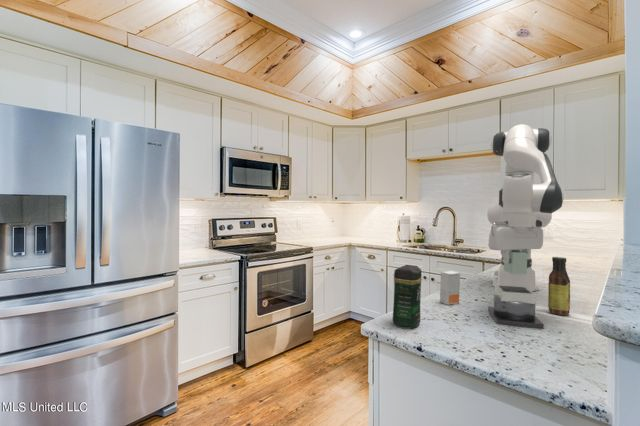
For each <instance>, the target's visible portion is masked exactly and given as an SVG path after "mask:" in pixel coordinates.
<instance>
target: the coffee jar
mask: <svg viewBox="0 0 640 426" xmlns="http://www.w3.org/2000/svg"><path fill="white" fill-rule="evenodd" d="M393 284H394V285H393V286H394V287H393V307H392V323H393V325H395V326H397V327H399V328H403V329H407V328H408V329H414V328H416V327H417V326H418V325H420V322H421V301H422V300H421V297H422V296H421V295H422V294H421V293H422V291H421V290H422V269H421V268H420V267H419V266H418V265H414V264H413V265H412V264H405V265H402V266H400V267H397V268H395V269H394V273H393Z"/></svg>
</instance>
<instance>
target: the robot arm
mask: <svg viewBox="0 0 640 426" xmlns="http://www.w3.org/2000/svg"><path fill="white" fill-rule="evenodd" d="M490 143H491V144H490V147H491V151H492V154H494V155H495V156H498V157H503V158H504V161H505V162H506V163H505V171H504V172H505V173H504V180H503V185H502V188H501V189H500V190H498V194H499V195H498V203H497V204H493V205H491V206H490V207H489V208H488V210H487V215H486V216H487V220H488V222H489V223H490V224H491V227H490V232H489V236H488V247H489V250H491V251H492V250H493V251H500V254H501V258H500V259H501V260H500V265H499V268H498V270H494V271H493V272H494V273H493V275H494V276H495V278H492V287H494V288H495V285H505V286H518V287H527V288H528V289H530V290H531V291H532V292H534V291H540V287H538V286H537V284H536V282H537V281H536V272H535V270H534V269H533V268H532V266H533V259H532V257H531V256H532V250H540V249H541V248H542V247H543V246H544V230H543V228H546V227H548V226H549V224H550V223H551V221H552V218H553V215H552V214H553V213H555V212H557V211H558V210H560V209H561V208H562V207H563V203H564V193H563V190H562V189H561V186H560V184H559V183H558V180H557V177H556V175H555V171H554V167H553V165H552V163H551V160H550V158H549V156H548V154H547V153H546V152H547V151H548V150H549V148H550V147H551V144H552V135H551V133H550V131H549V130H548V128H543V127H542V128H541V127H538V128H533V127H531V126H530V125H528V124H522V123H521V124H517V125H515V126H512V127H511V128H510V129H508V131H500V132H497V133H495V135H493V138H492V139H491V142H490ZM534 173H535V174H537V175H538V176H539V180H540V182H541V183H537V184H536V183H535V181H534ZM534 183H535V184H534ZM509 250H520V251H522V252H526V253H527V274H511V273H509V272H506V271H504V263H505V264H510V263H511V258H509V256H508V253H509Z"/></svg>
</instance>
